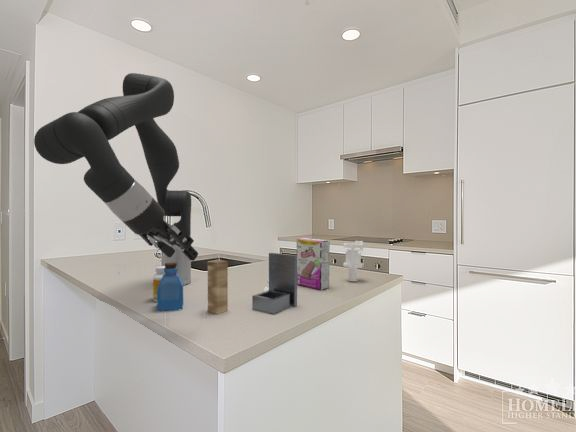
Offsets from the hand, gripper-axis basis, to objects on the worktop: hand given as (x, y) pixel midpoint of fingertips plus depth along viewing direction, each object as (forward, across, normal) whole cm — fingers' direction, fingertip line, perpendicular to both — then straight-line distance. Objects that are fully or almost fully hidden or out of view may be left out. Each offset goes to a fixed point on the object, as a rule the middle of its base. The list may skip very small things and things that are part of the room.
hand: (183, 255), depth 74 cm
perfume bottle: (+15, +13, +7) cm, 21 cm away
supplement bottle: (+17, +21, +5) cm, 28 cm away
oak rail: (+19, 0, +4) cm, 19 cm away
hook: (+37, 0, -14) cm, 39 cm away
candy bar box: (+45, -7, -22) cm, 51 cm away
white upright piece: (+56, -15, -34) cm, 67 cm away
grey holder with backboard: (+26, -10, -4) cm, 29 cm away
